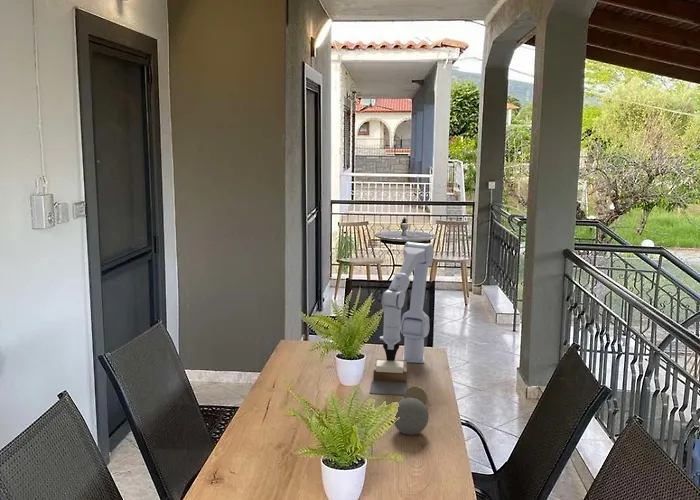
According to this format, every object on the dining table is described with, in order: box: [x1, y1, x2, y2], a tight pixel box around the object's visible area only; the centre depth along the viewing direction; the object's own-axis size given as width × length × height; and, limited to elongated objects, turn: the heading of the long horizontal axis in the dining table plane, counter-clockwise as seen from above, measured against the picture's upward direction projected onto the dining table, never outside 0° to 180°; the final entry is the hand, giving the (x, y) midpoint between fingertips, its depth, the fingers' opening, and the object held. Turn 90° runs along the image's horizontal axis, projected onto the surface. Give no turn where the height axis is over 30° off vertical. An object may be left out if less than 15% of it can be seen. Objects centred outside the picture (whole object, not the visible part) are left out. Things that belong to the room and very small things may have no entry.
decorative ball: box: [393, 398, 429, 436], centre depth 182 cm, size 10×10×10 cm
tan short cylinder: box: [403, 385, 429, 406], centre depth 201 cm, size 8×10×10 cm
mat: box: [369, 380, 408, 397], centre depth 215 cm, size 11×12×1 cm
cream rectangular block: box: [376, 360, 404, 373], centre depth 221 cm, size 6×9×2 cm, turn 84°
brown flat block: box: [372, 358, 408, 383], centre depth 226 cm, size 12×11×4 cm
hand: (390, 363), depth 225 cm, fingers closed
